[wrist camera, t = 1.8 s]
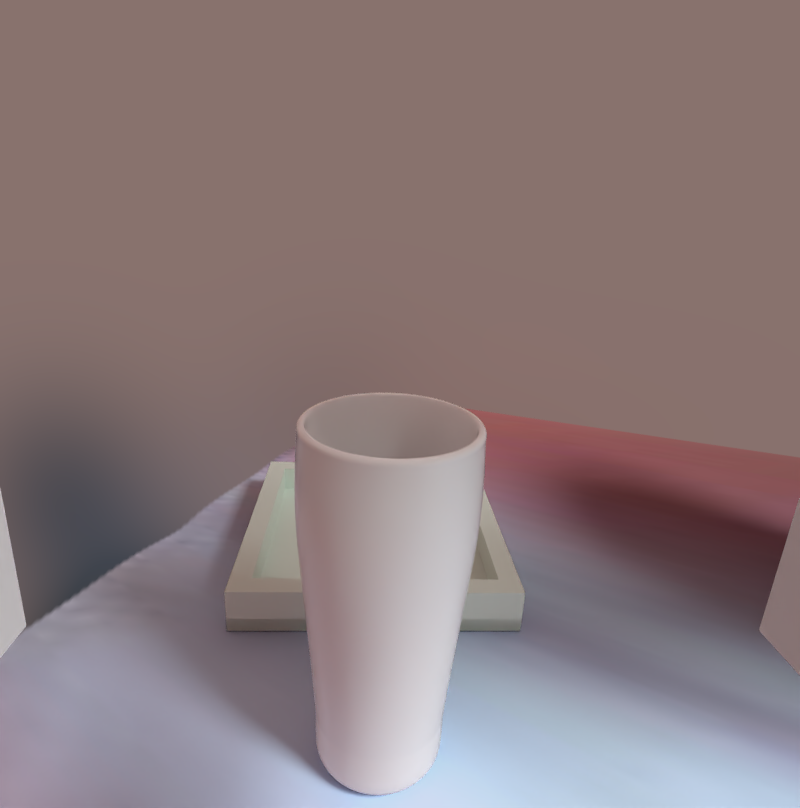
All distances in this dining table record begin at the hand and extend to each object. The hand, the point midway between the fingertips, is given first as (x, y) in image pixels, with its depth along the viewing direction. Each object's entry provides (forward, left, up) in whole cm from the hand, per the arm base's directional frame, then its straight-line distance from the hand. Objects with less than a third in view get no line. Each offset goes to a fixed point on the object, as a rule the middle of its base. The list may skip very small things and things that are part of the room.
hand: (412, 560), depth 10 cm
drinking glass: (0, -11, -17) cm, 20 cm away
